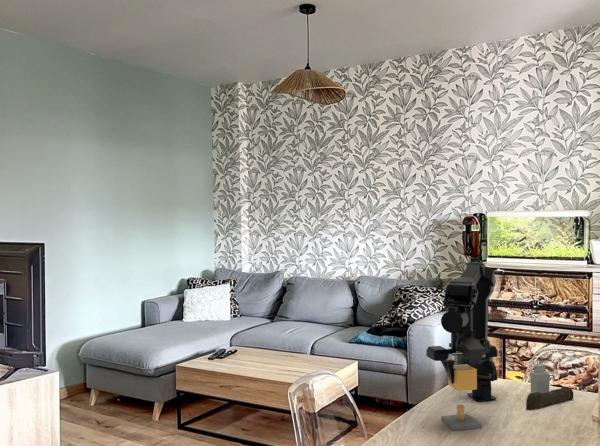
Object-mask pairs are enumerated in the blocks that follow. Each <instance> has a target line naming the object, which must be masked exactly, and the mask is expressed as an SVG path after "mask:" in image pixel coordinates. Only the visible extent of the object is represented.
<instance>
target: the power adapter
mask: <svg viewBox="0 0 600 446" xmlns="http://www.w3.org/2000/svg"><path fill="white" fill-rule="evenodd" d="M540 360H541V363H539V358H538V357H536V363H534V364H533V371H530V394H531V393H535V392H539V393H546V392H550V372H549V371H546V369H547V368H546V365H547V364H546V363H543V356H541V359H540Z"/></svg>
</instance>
